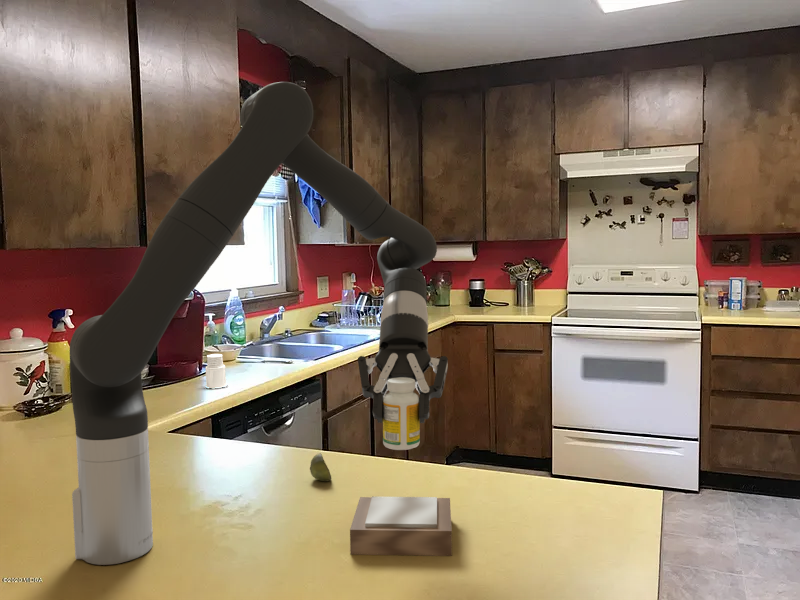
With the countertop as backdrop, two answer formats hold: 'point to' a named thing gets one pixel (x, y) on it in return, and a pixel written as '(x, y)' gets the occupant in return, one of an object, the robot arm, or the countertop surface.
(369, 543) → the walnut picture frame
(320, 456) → the lime
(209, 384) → the white pipe fitting
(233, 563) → the countertop surface
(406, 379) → the supplement bottle
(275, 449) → the countertop surface
